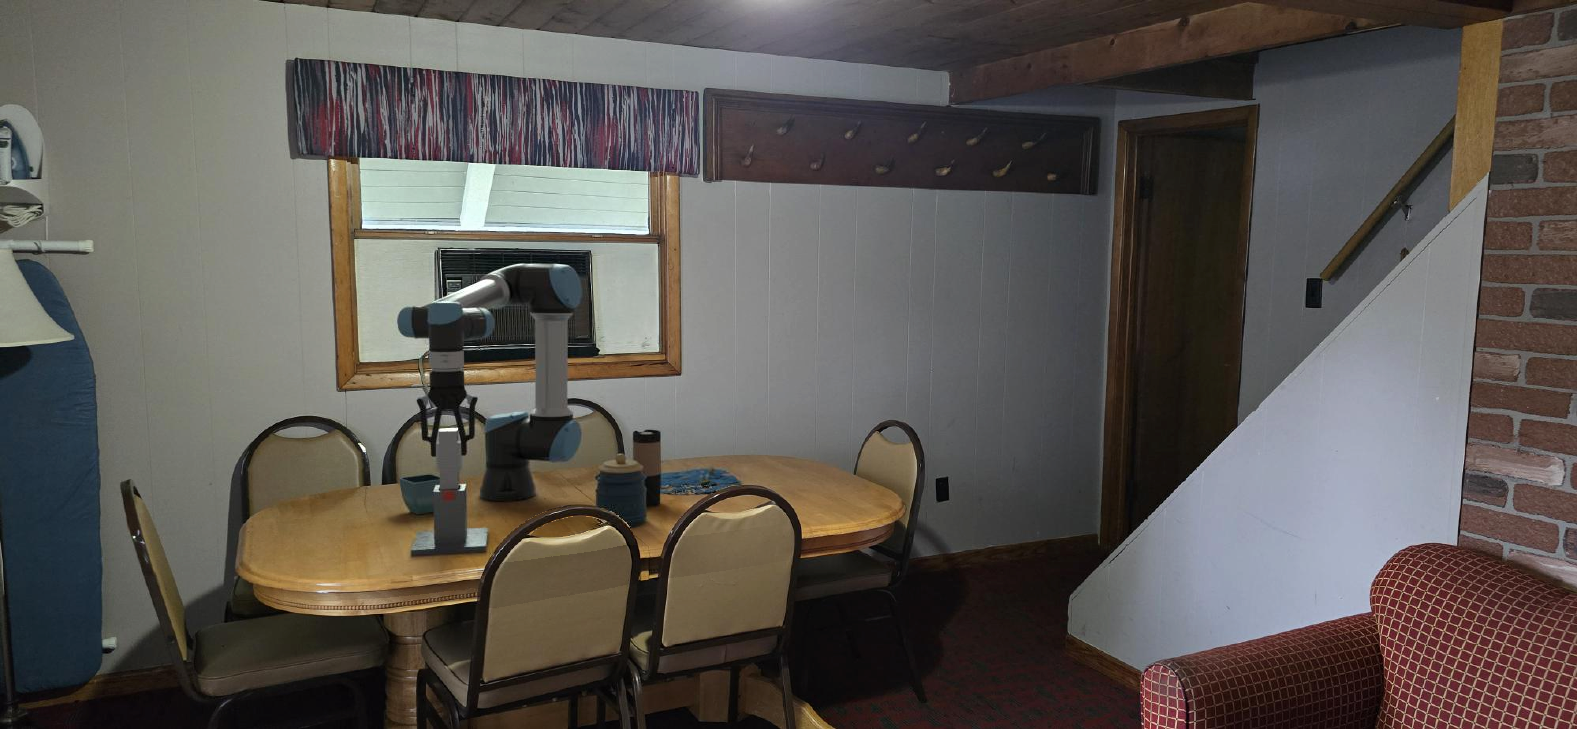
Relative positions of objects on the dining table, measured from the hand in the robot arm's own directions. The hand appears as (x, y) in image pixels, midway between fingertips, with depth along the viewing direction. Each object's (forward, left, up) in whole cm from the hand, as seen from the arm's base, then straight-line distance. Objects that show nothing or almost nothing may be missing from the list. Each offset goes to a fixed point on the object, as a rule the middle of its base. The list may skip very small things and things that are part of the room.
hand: (449, 469), depth 235 cm
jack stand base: (0, 0, -18) cm, 18 cm away
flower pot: (-30, +17, -18) cm, 39 cm away
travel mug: (+14, +55, -18) cm, 60 cm away
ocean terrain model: (+10, +82, -19) cm, 85 cm away
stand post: (0, 0, -14) cm, 14 cm away
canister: (+20, +37, -18) cm, 46 cm away
